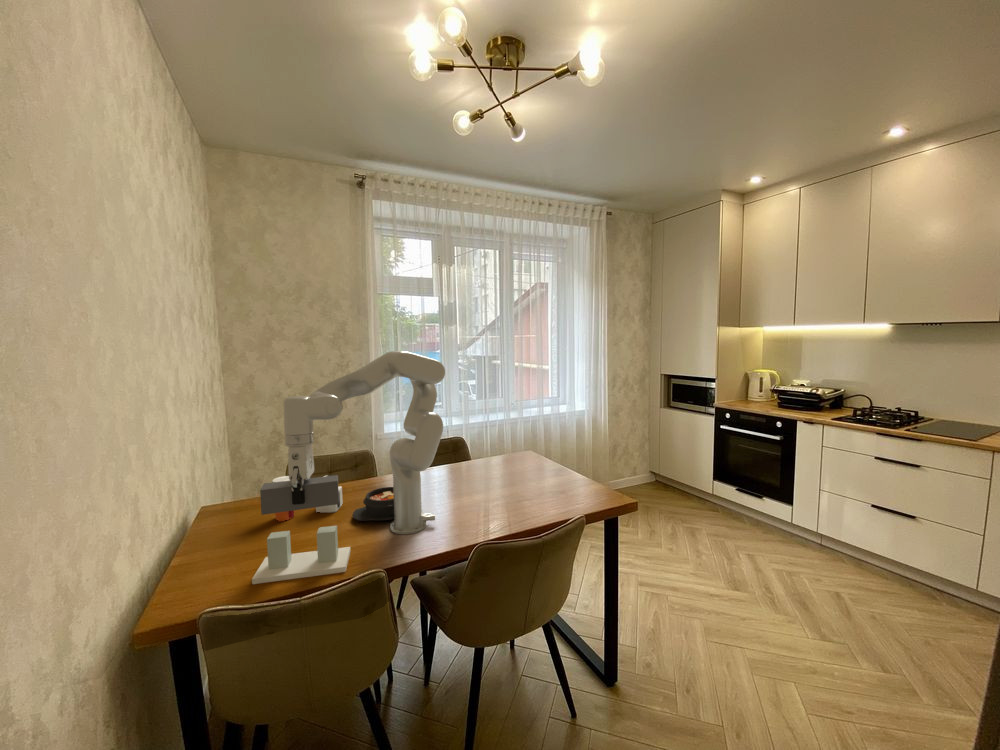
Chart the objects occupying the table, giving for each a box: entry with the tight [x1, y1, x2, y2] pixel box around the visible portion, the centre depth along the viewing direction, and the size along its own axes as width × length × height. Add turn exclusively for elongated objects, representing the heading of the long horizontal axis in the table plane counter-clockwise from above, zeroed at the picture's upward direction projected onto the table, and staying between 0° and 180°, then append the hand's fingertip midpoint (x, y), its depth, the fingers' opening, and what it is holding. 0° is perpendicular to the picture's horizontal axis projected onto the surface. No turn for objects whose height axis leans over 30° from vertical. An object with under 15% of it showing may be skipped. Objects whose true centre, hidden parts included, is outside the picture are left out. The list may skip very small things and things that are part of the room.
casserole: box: [352, 486, 394, 522], centre depth 156 cm, size 25×19×8 cm
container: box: [315, 474, 344, 513], centre depth 163 cm, size 8×8×13 cm
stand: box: [251, 525, 352, 585], centre depth 120 cm, size 24×12×10 cm, turn 104°
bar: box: [259, 474, 339, 516], centre depth 120 cm, size 20×6×7 cm, turn 111°
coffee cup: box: [271, 475, 295, 522], centre depth 154 cm, size 8×8×15 cm
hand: (301, 498), depth 120 cm, fingers closed on bar, 6 cm apart
